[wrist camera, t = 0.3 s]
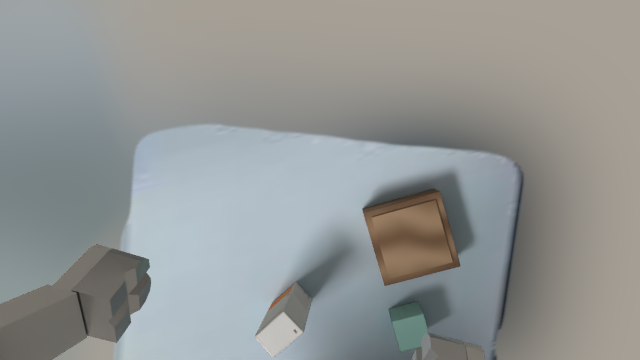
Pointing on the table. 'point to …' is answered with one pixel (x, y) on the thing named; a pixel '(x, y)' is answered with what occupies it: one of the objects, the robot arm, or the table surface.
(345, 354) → the table surface
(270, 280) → the table surface
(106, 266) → the robot arm
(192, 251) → the table surface
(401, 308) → the teal cube
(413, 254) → the tray
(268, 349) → the skincare box
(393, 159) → the table surface
